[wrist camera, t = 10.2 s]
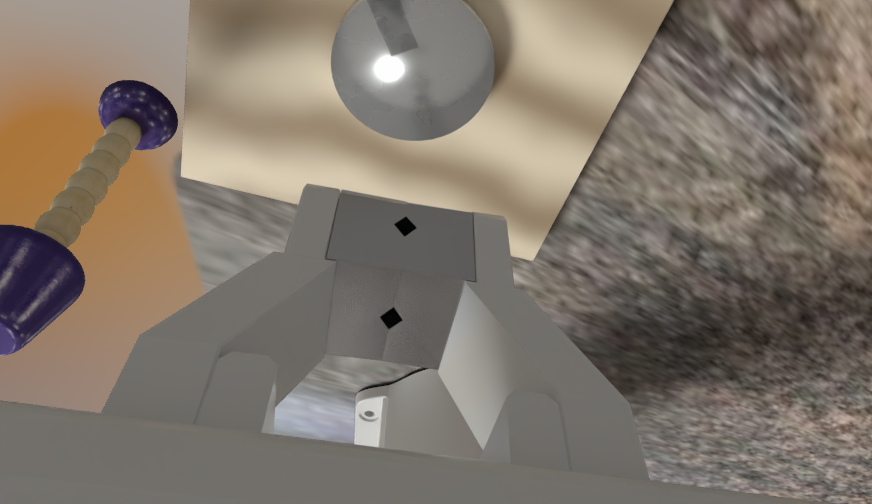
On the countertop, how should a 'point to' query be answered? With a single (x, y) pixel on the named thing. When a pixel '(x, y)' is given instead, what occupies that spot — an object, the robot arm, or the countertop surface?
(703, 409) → the countertop surface
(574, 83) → the birch stand
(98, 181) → the toy lamp
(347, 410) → the countertop surface
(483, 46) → the silver disc with handle
